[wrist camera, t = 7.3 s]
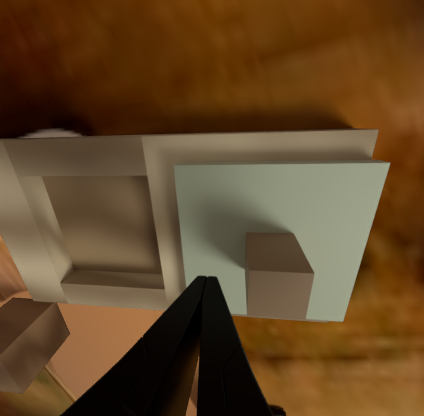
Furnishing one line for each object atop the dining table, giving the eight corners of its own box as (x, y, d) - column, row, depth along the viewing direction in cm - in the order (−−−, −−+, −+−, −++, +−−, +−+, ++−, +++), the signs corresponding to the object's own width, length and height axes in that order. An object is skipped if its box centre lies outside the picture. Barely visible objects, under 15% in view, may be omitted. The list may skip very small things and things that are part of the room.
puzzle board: (317, 298, 15) (328, 322, 14) (54, 282, 18) (33, 300, 16) (354, 128, 11) (378, 129, 9) (-6, 139, 13) (-45, 141, 12)
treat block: (70, 333, 21) (22, 393, 16) (30, 330, 21) (-27, 387, 17) (55, 300, 19) (-2, 356, 14) (13, 297, 19) (-56, 351, 15)
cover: (336, 310, 13) (373, 379, 9) (191, 300, 14) (176, 359, 10) (378, 159, 9) (462, 181, 6) (178, 162, 10) (148, 182, 7)
